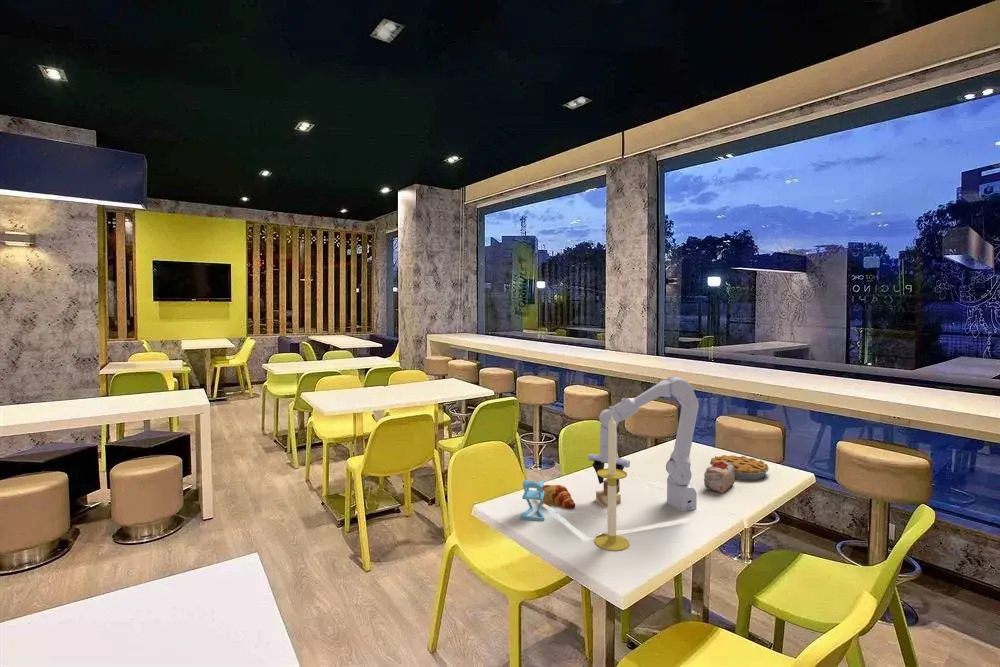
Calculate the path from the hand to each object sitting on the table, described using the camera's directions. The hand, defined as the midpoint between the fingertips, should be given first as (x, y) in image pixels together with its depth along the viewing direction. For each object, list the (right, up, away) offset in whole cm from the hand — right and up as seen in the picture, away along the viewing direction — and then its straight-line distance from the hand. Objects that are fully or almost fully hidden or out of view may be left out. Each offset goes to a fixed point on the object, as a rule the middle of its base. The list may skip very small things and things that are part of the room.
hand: (608, 484), depth 171 cm
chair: (-26, -8, -7) cm, 28 cm away
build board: (+3, -7, +1) cm, 8 cm away
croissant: (-18, -8, +4) cm, 20 cm away
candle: (-5, -9, -27) cm, 29 cm away
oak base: (0, -6, 0) cm, 6 cm away
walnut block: (+1, -3, +1) cm, 3 cm away
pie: (+61, -6, +35) cm, 70 cm away
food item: (+45, -7, +17) cm, 49 cm away
